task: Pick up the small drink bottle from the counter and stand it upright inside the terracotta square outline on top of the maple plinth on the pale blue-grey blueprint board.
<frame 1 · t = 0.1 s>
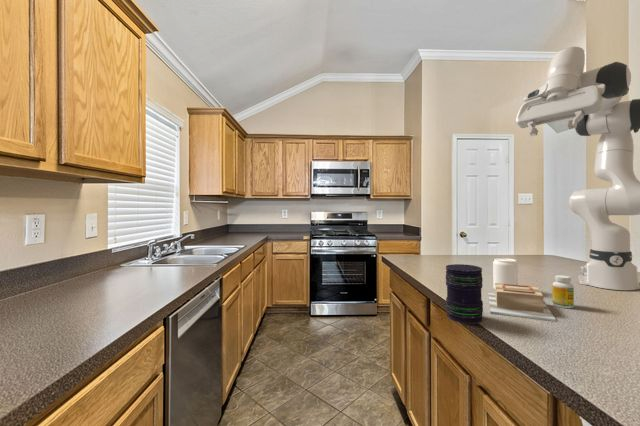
hand: (551, 131, 88), 54 cm above the countertop, tool tilted 30°, fingers open, 8 cm apart
supplement bottle: (563, 306, 98), on the countertop
beverage can: (505, 291, 116), on the countertop
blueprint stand: (517, 306, 98), on the countertop
storage jar: (464, 318, 89), on the countertop
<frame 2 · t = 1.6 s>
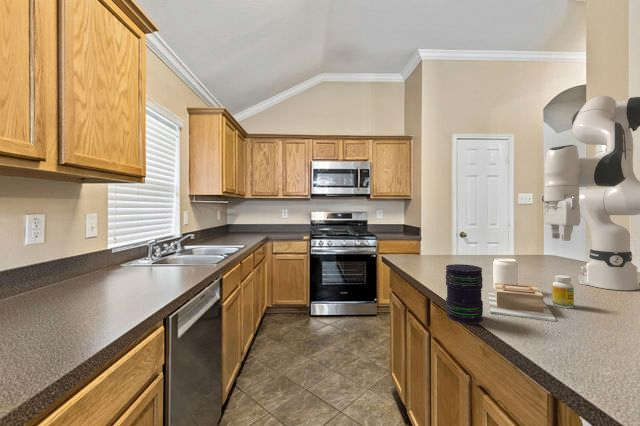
hand: (560, 239, 96), 22 cm above the countertop, tool pointing down, fingers open, 8 cm apart
nothing on the countertop moved.
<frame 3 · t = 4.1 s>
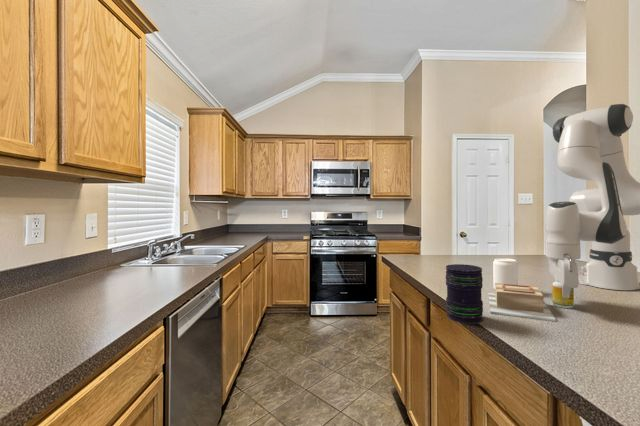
hand: (562, 294, 98), 4 cm above the countertop, tool pointing down, fingers closed on supplement bottle, 5 cm apart
supplement bottle: (563, 306, 98), on the countertop, touching gripper
everything else where it was.
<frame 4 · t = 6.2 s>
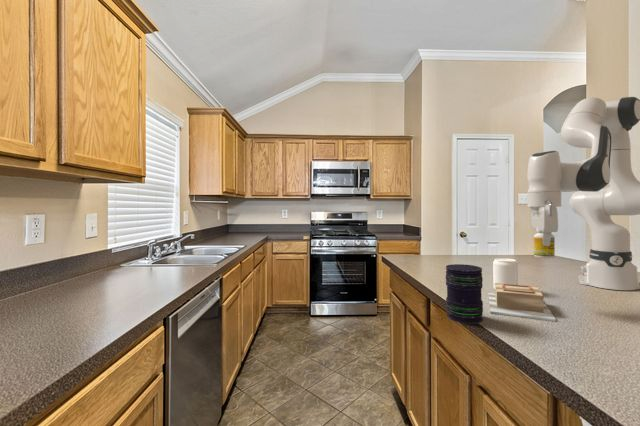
hand: (543, 244, 97), 20 cm above the countertop, tool pointing down, fingers closed on supplement bottle, 5 cm apart
supplement bottle: (544, 258, 97), point 16 cm above the countertop, touching gripper
everything else where it was.
when the fingers open (10 cm above the countertop, at t = 8.8 s): supplement bottle stays where it is, resting on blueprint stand.
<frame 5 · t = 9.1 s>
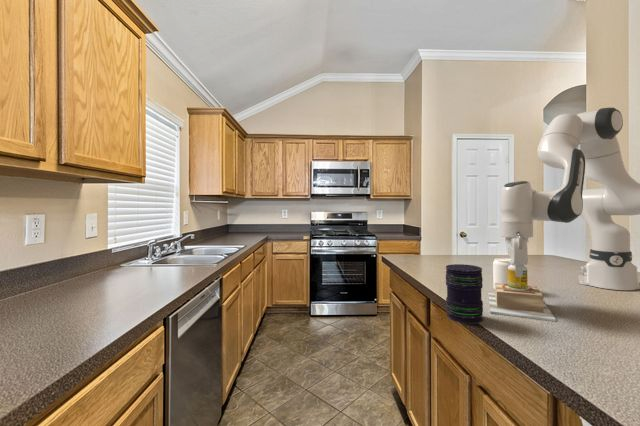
hand: (517, 273, 98), 11 cm above the countertop, tool pointing down, fingers open, 8 cm apart
supplement bottle: (517, 289, 98), point 5 cm above the countertop, touching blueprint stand
everything else where it was.
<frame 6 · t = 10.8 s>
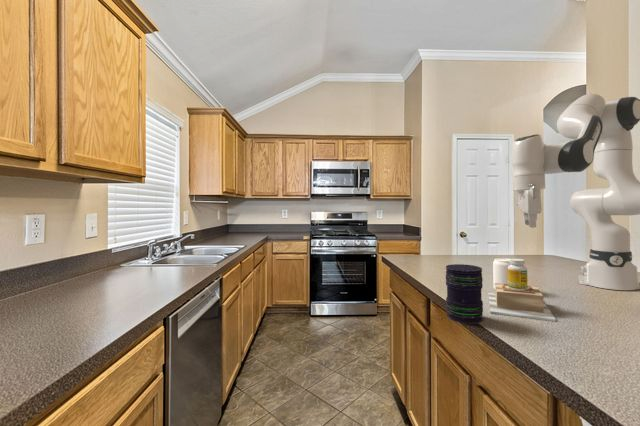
hand: (530, 226, 101), 26 cm above the countertop, tool pointing down, fingers open, 8 cm apart
nothing on the countertop moved.
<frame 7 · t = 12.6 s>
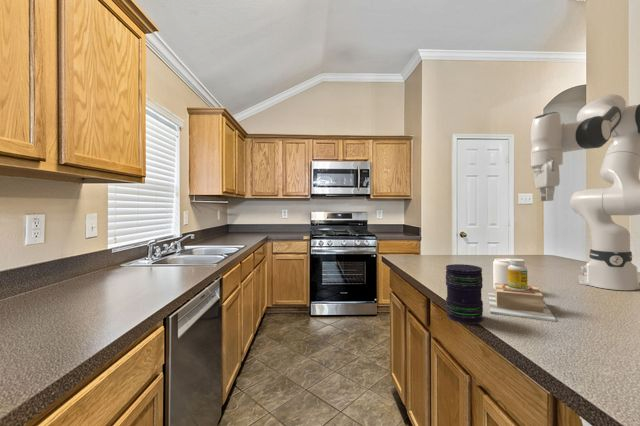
hand: (546, 201, 104), 34 cm above the countertop, tool pointing down, fingers open, 8 cm apart
nothing on the countertop moved.
at the end: supplement bottle 0.1 cm off-centre on the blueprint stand, point 5.4 cm above the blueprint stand's base; supplement bottle tilted 0°; the gripper is holding nothing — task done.
